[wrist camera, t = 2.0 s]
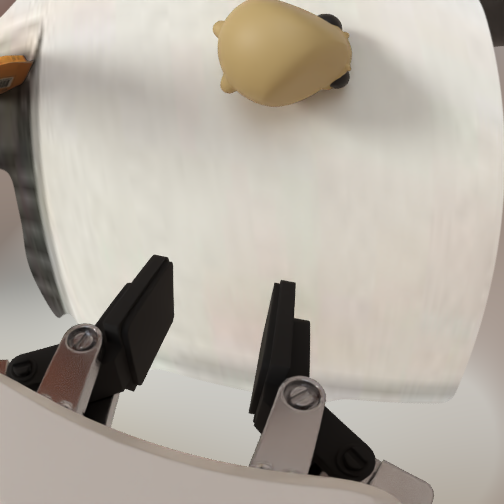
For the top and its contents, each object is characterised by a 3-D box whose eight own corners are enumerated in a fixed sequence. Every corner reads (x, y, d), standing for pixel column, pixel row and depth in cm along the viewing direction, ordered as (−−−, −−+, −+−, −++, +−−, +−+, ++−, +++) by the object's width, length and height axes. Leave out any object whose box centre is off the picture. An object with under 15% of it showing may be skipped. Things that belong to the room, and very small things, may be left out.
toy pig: (295, 100, 30) (384, 106, 23) (199, 114, 24) (292, 115, 17) (287, 17, 25) (376, 3, 18) (186, 10, 19) (276, -33, 12)
